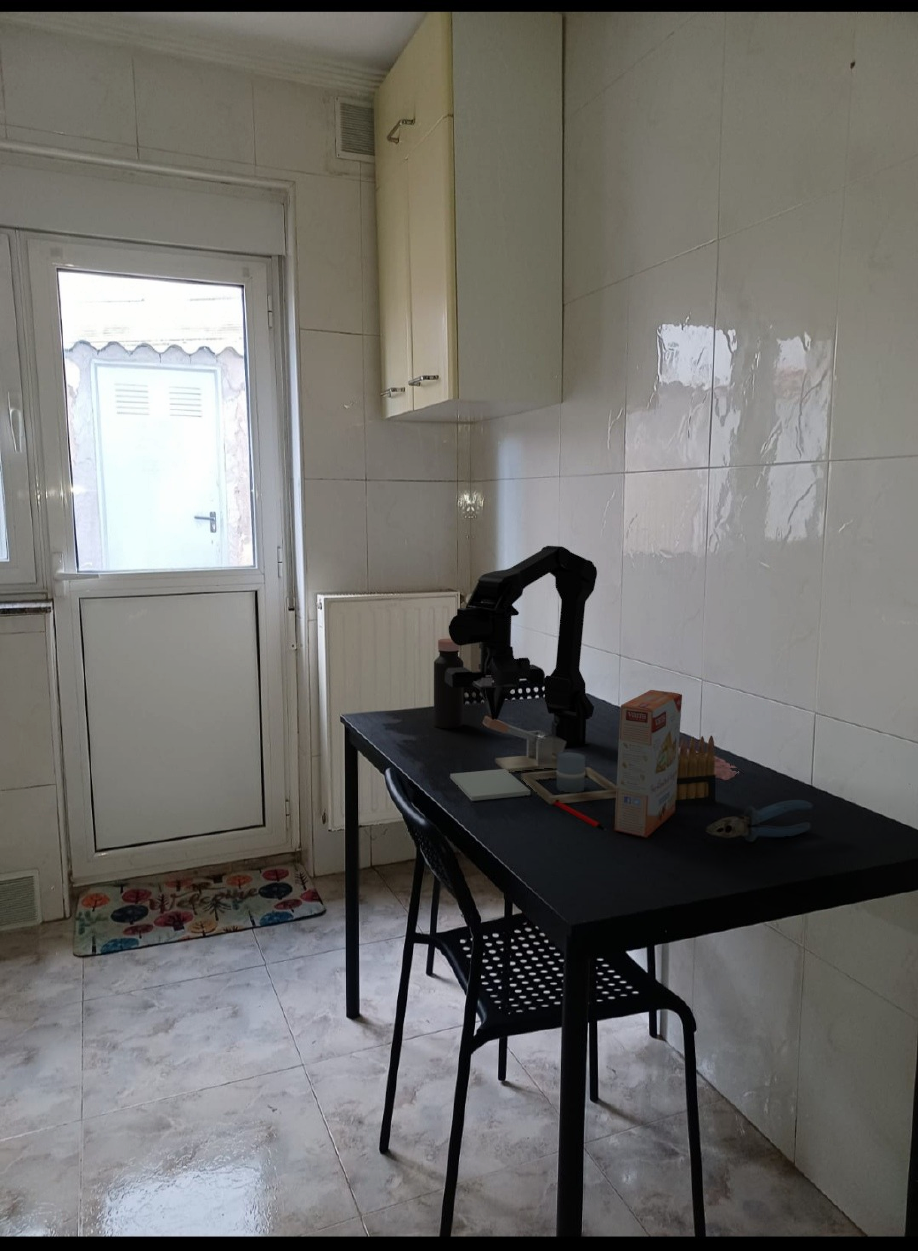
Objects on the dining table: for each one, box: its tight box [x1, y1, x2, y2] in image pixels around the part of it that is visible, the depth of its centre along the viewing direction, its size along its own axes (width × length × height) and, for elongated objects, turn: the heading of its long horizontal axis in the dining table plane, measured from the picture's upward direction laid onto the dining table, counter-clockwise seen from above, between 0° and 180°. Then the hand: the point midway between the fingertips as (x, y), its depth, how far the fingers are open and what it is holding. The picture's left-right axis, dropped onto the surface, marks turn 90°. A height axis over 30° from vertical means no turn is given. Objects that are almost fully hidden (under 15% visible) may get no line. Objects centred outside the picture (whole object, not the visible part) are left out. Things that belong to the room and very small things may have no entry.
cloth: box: [678, 746, 740, 781], centre depth 177 cm, size 20×22×2 cm
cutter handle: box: [482, 715, 566, 756], centre depth 173 cm, size 17×3×3 cm, turn 108°
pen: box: [553, 800, 606, 831], centre depth 149 cm, size 1×19×1 cm, turn 28°
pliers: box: [705, 799, 813, 843], centre depth 137 cm, size 20×2×6 cm, turn 112°
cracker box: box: [614, 689, 683, 839], centre depth 143 cm, size 14×6×21 cm, turn 148°
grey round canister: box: [556, 752, 586, 794], centre depth 160 cm, size 5×5×6 cm
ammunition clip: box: [675, 735, 717, 808], centre depth 152 cm, size 11×2×12 cm, turn 106°
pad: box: [449, 768, 531, 802], centre depth 161 cm, size 11×13×1 cm
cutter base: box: [494, 729, 557, 773], centre depth 174 cm, size 12×7×6 cm, turn 107°
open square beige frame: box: [520, 766, 617, 805], centre depth 161 cm, size 14×14×1 cm
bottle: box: [433, 638, 465, 730], centre depth 202 cm, size 7×7×20 cm
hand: (493, 719), depth 171 cm, fingers closed
